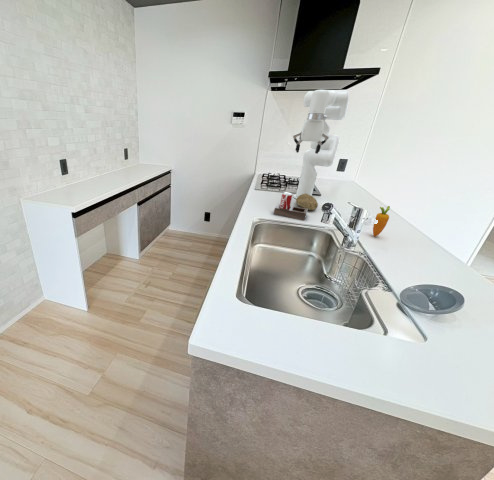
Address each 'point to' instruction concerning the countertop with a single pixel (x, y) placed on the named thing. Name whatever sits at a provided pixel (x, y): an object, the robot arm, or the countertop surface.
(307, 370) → the countertop surface
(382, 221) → the carrot
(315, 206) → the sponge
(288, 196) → the soda can
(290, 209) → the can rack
